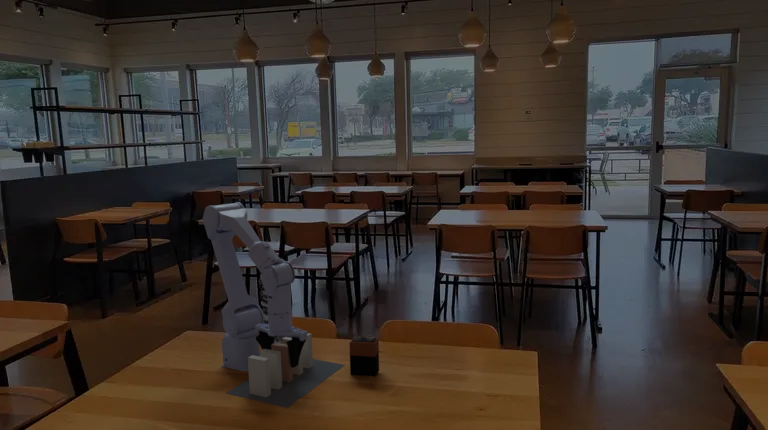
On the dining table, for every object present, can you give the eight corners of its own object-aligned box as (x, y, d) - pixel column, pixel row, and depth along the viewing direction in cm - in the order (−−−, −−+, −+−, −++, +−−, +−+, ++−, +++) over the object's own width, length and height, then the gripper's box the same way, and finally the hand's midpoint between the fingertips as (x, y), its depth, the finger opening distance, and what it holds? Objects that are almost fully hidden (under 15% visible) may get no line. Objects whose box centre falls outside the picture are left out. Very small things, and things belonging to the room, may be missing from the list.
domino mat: (225, 394, 135) (225, 393, 135) (289, 355, 158) (289, 354, 158) (287, 409, 127) (287, 407, 127) (345, 366, 150) (345, 364, 150)
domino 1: (266, 397, 132) (264, 360, 131) (249, 393, 134) (247, 357, 133) (270, 394, 133) (269, 358, 132) (254, 390, 136) (252, 355, 134)
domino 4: (299, 375, 144) (298, 341, 143) (283, 371, 146) (282, 338, 145) (303, 372, 145) (301, 339, 144) (287, 369, 148) (285, 336, 146)
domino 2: (278, 389, 136) (276, 354, 135) (261, 385, 138) (259, 350, 137) (282, 386, 137) (280, 351, 136) (265, 383, 140) (264, 348, 138)
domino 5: (309, 368, 148) (308, 335, 147) (293, 365, 150) (292, 333, 149) (312, 366, 149) (311, 333, 148) (297, 363, 152) (295, 331, 150)
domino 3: (289, 382, 140) (287, 347, 139) (273, 378, 142) (271, 344, 141) (293, 379, 141) (291, 345, 140) (276, 376, 144) (275, 342, 142)
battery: (376, 378, 142) (375, 340, 141) (350, 376, 144) (348, 338, 142) (379, 371, 146) (378, 334, 145) (354, 369, 148) (353, 333, 146)
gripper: (246, 312, 139) (248, 364, 141) (294, 319, 133) (297, 374, 134) (264, 304, 145) (266, 354, 147) (311, 311, 139) (313, 363, 141)
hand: (282, 363), depth 141 cm, fingers open, 7 cm apart
